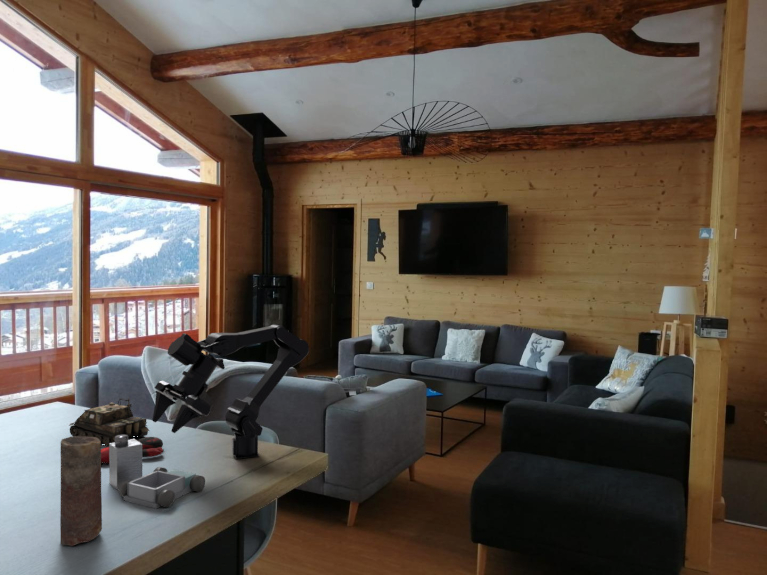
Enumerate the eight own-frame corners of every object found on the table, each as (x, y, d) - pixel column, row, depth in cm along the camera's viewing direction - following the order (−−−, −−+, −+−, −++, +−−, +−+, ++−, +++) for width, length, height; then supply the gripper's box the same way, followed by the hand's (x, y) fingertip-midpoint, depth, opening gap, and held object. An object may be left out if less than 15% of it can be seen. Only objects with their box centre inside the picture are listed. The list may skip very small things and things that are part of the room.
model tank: (104, 428, 193) (104, 382, 192) (152, 438, 182) (152, 390, 182) (67, 438, 181) (67, 390, 181) (116, 450, 171) (116, 399, 170)
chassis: (164, 478, 149) (164, 463, 149) (206, 488, 143) (206, 471, 143) (117, 498, 136) (117, 481, 136) (162, 510, 130) (162, 492, 130)
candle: (71, 529, 120) (70, 433, 119) (108, 529, 121) (107, 433, 120) (53, 548, 113) (52, 445, 112) (93, 547, 113) (92, 444, 112)
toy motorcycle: (66, 461, 164) (64, 471, 150) (66, 442, 165) (64, 450, 151) (161, 452, 176) (167, 460, 161) (161, 434, 176) (168, 441, 162)
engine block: (134, 477, 149) (134, 430, 149) (142, 483, 145) (142, 435, 145) (109, 483, 145) (109, 435, 145) (117, 489, 141) (116, 440, 141)
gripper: (238, 397, 157) (204, 450, 151) (198, 380, 168) (165, 428, 163) (211, 377, 149) (174, 433, 143) (171, 361, 161) (136, 411, 155)
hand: (163, 426), depth 151 cm, fingers open, 9 cm apart
